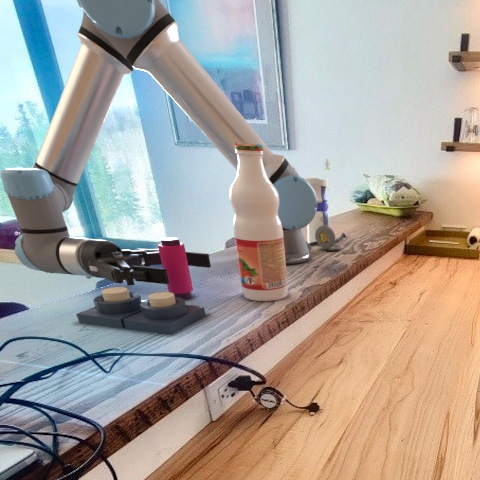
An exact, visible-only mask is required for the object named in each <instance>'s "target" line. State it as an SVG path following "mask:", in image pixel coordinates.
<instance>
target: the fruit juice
mask: <svg viewBox="0 0 480 480" xmlns="http://www.w3.org/2000/svg"><path fill="white" fill-rule="evenodd" d="M235 150H236V154H237V155H238V171H237V170H236V171H237V172H236V177H235V180H234V181H233V183H232V184H231V186H230V188H229V201H230V204H231V206H232V209H233V212H234V218H233V222H232V224H233V225H232V226H233V237H234V243H235V250H236V257H237V264H238V271H239V278H240V286H241V291H242V295H243V296H244V298H246V299H247V300H250V301H255V302H273V301H278V300H282V299H284V298H286V297H287V296H288V294H289V286H288V285H289V284H288V275H287V273H288V272H287V264H286V261H285V250H284V237H283V228H282V223H281V220H280V218H279V216H278V209H279V194H278V191H277V189H276V188H275V186H274V185H273V184H272V183H271V181H270V180H269V178H268V176H267V174H266V171H265V168H264V165H263V160H262V155H263V146H262V145H259V144H242V143H235Z"/></svg>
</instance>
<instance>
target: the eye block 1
mask: <svg viewBox="0 0 480 480" xmlns="http://www.w3.org/2000/svg"><path fill="white" fill-rule="evenodd" d="M129 294H130V299H127V300H123V301H114V302H108V301H104V298H103V295H102V294H100V295H97V296H95V297H94V299H93V300H92V301H93V304H94V306H93V307H90V308H88V309H85V310H82V311H79V312H77V313H76V317H77V320H78V323H79V324H84V325H92V326H101V327H109V328H115V329H116V328H117V329H126V327H125V324H124V321H123V319H126V318H128V317H130V316H132V315H135V314H137V313H139V312H141V308H140V305H141V303H142V302H144V301H146V300H147V299H142V297H141V295H140V294H139V293H137V292H133V291H129Z"/></svg>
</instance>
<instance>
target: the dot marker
mask: <svg viewBox="0 0 480 480" xmlns="http://www.w3.org/2000/svg"><path fill="white" fill-rule="evenodd" d="M185 247H186V246H185V243H184V242H180V238H178V237H163V238H160V242H159V243H158V244H157V249H159V253H160V258H161V262H162V265H161V266H162V268H165V269H166V270H167V275H168V279H169V284H166V287H167V290H168V291H167V292H170V293H173V294H174V296H175V297H178V298H182V299H184V300H185V301H186V300H190V299H193V295H192V292H193V291H194V286H193V281H192V276H191V271H190V266H188V261H187V256H186V252H187V250H186V248H185Z"/></svg>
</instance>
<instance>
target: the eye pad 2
mask: <svg viewBox="0 0 480 480" xmlns="http://www.w3.org/2000/svg"><path fill="white" fill-rule="evenodd" d="M147 297H148V300H149V302H150V306H151V307H167V306H171V305H174V304H176V300H175V296H174V294H173V293H170V292H168V291H159V292H153V293H151V294H148V296H147Z"/></svg>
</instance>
